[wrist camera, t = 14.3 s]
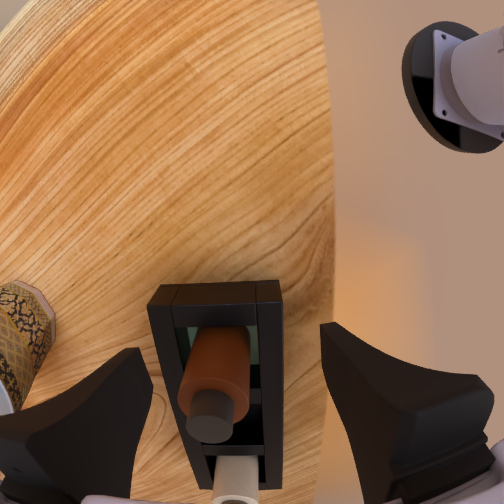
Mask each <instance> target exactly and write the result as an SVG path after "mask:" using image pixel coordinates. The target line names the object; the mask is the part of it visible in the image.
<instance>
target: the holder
mask: <svg viewBox="0 0 504 504" xmlns="http://www.w3.org/2000/svg"><path fill="white" fill-rule="evenodd" d="M147 311H148V316H149V320H150V325H151V329H152V334H153V338H154V342H155V346H156V351H157V355H158V359H159V363H160V367H161V370H162V374H163V378H164V382H165V385H166V389H167V392H168V396H169V399H170V403H171V406H172V410H173V413H174V416H175V419H176V423H177V426H178V429H179V432H180V435H181V438H182V441H183V444H184V447H185V450H186V453H187V456H188V459H189V461H190V464H191V467H192V470H193V473H194V475H195V478H196V481H197V483H198V486H199V488H200V489H207V490H213V483H214V474H215V465H216V456H256V455H258V463H259V490H266V489H267V490H272V489H282V473H283V402H284V359H283V300H282V295H281V289H280V284H279V280H265V281H244V282H221V283H195V284H163V285H160V286H159V288H158V289H157V291H156V292H155V294H154V295H153V297H152V298H151V300H150V301H149V303H148V304H147ZM231 326H246V327H247V329H248V330H249V333H250V338H251V344H250V389H249V409H248V412H247V414H246V415H245V416H244V417H243V418H242V419H241V420H240V421H238V422H236V423H234V424H233V433H232V435H231V437H230V438H229V439H228V440H226V441H224V442H221V443H205V442H201V441H199V440H196V439H195V438H193V437H192V436H191V435H190V434H189V433H188V432H187V430H186V422H187V417H188V416H187V415H185V414H184V412H183V411H182V410H181V408H180V406H179V404H178V392H179V389H180V385H181V382H182V379H183V375H184V372H185V368H186V365H187V362H188V358H189V355H190V351H191V348H192V345H193V342H194V338H195V335H196V332H197V329H198V327H231Z"/></svg>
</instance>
